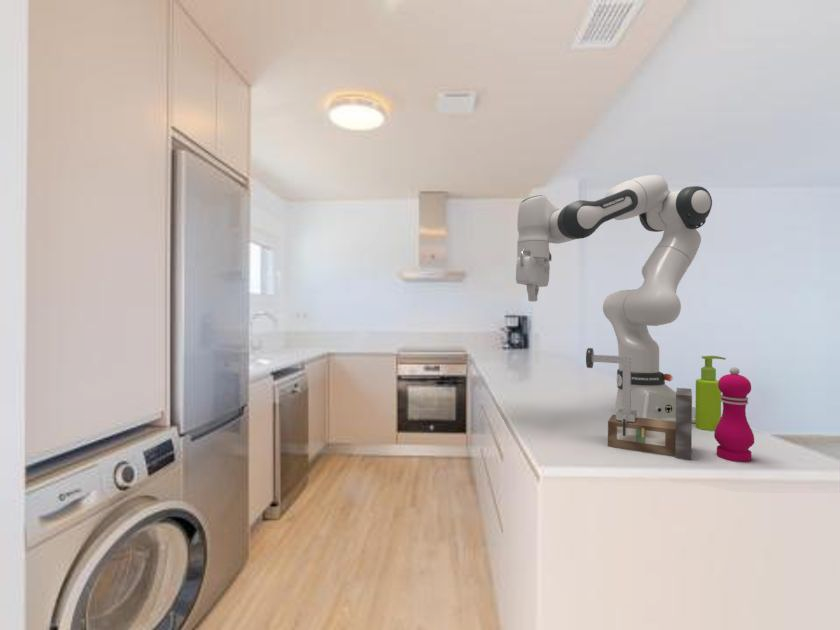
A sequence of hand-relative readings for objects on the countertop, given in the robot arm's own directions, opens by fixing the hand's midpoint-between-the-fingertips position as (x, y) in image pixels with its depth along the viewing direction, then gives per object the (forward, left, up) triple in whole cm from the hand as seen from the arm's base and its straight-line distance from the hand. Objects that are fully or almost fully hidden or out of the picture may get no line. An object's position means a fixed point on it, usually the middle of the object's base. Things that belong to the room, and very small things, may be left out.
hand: (532, 301), depth 125 cm
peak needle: (-19, +25, -32) cm, 45 cm away
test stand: (-23, +22, -35) cm, 47 cm away
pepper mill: (-38, +28, -35) cm, 59 cm away
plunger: (-15, +18, -32) cm, 40 cm away
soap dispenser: (-48, +4, -35) cm, 60 cm away
